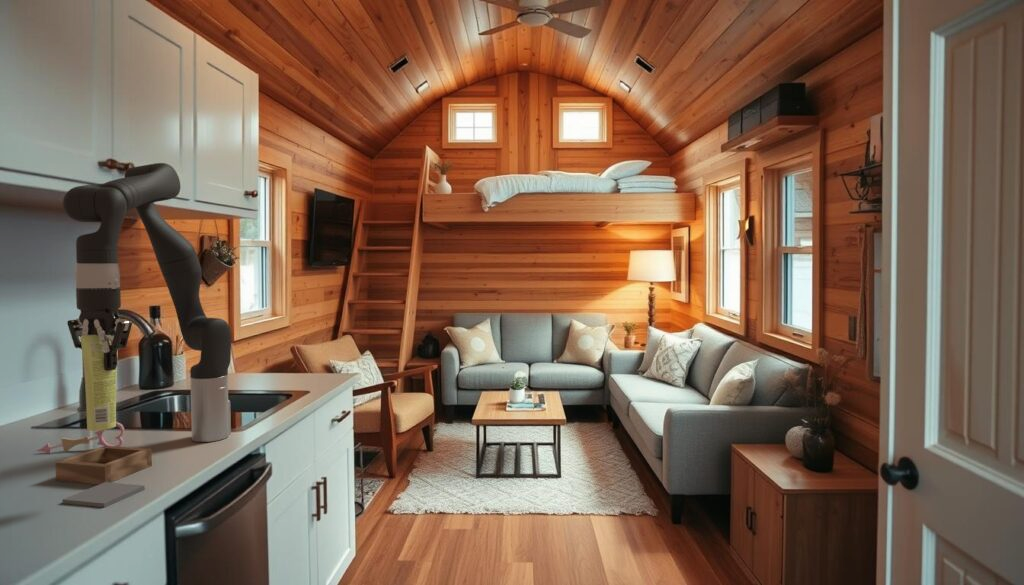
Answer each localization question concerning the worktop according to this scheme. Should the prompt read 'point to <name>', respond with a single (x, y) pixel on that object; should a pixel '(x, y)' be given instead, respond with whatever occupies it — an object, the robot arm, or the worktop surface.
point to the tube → (98, 385)
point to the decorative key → (84, 441)
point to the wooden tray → (103, 464)
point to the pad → (103, 494)
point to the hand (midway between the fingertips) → (101, 369)
